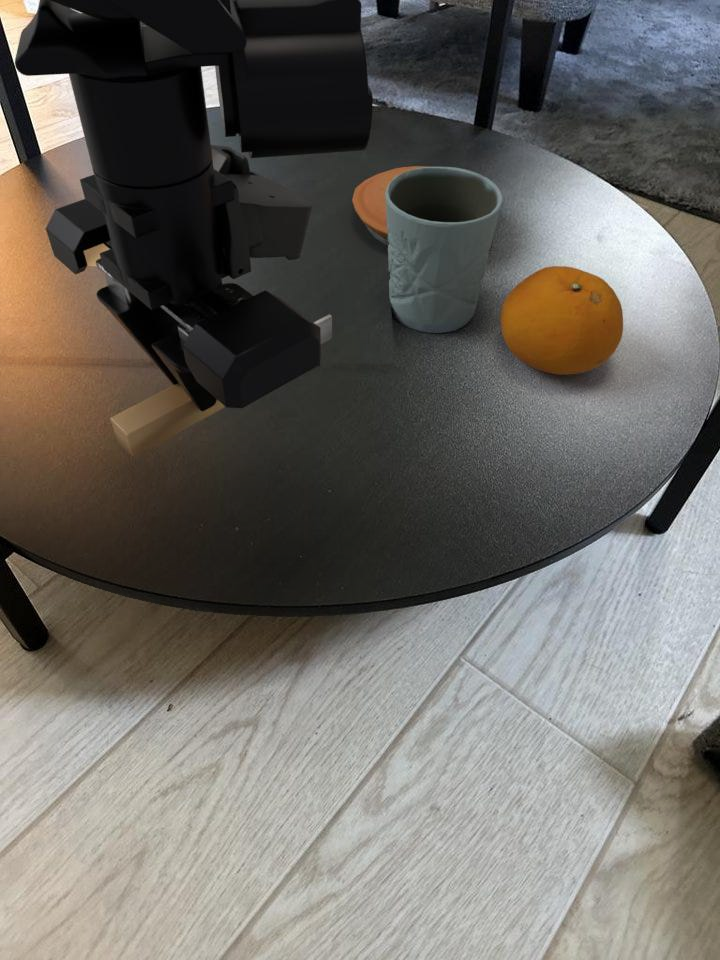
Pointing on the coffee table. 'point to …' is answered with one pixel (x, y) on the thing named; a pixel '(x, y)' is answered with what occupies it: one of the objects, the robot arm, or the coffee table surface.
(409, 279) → the green ceramic cup
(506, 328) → the fruit
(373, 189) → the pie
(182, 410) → the chisel
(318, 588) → the coffee table surface
